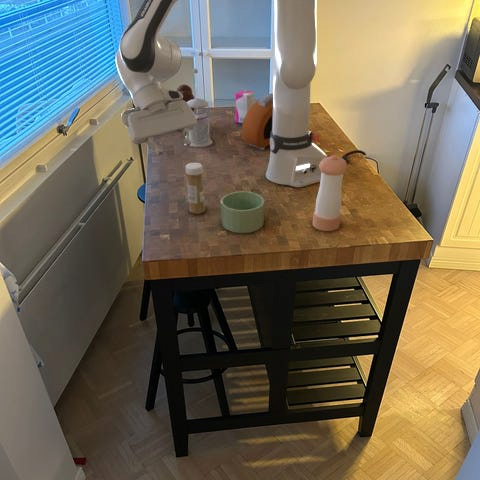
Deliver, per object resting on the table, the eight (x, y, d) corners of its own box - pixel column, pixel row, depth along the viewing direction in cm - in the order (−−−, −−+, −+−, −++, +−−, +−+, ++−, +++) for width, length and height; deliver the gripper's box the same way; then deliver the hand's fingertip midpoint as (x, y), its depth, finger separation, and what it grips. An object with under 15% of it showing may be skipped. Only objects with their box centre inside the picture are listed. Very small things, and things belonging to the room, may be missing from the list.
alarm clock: (256, 153, 169) (257, 103, 158) (240, 146, 174) (240, 98, 164) (303, 138, 180) (306, 91, 169) (286, 132, 186) (289, 86, 175)
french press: (181, 143, 177) (174, 70, 161) (200, 134, 184) (195, 63, 168) (202, 149, 173) (197, 73, 156) (220, 139, 180) (218, 66, 164)
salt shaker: (307, 224, 129) (313, 155, 117) (323, 215, 133) (331, 147, 121) (328, 234, 126) (337, 163, 113) (344, 224, 129) (355, 155, 117)
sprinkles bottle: (208, 211, 136) (205, 166, 127) (194, 216, 134) (190, 170, 125) (200, 205, 139) (197, 160, 130) (186, 209, 137) (182, 164, 128)
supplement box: (254, 121, 196) (254, 91, 188) (247, 125, 192) (247, 95, 184) (242, 119, 198) (242, 89, 190) (235, 123, 194) (234, 93, 187)
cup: (254, 209, 136) (255, 188, 132) (270, 228, 128) (270, 206, 124) (216, 216, 133) (215, 195, 129) (229, 236, 125) (228, 214, 121)
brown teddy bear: (169, 122, 195) (165, 83, 185) (195, 119, 198) (193, 80, 188) (174, 131, 187) (170, 90, 178) (201, 128, 190) (199, 87, 180)
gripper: (120, 104, 123) (145, 152, 124) (185, 90, 133) (208, 135, 134) (115, 118, 129) (139, 164, 130) (178, 103, 139) (200, 146, 139)
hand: (174, 149), depth 132 cm, fingers open, 8 cm apart
